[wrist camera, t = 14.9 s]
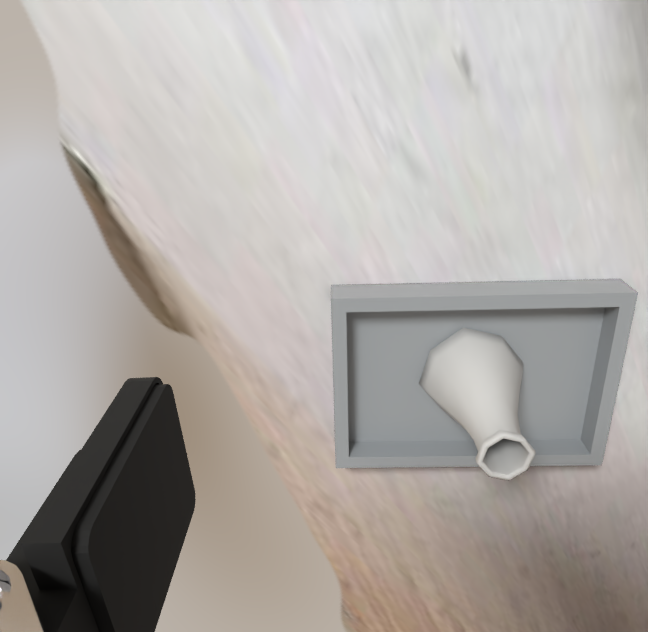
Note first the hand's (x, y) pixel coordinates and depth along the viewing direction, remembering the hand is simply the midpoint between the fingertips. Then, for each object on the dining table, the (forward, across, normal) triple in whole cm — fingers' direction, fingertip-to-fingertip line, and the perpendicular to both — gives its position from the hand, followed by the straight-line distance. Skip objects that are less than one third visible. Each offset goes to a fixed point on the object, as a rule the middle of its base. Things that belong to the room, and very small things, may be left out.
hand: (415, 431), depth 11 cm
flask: (+28, -7, +16) cm, 33 cm away
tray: (+28, -7, +16) cm, 33 cm away
